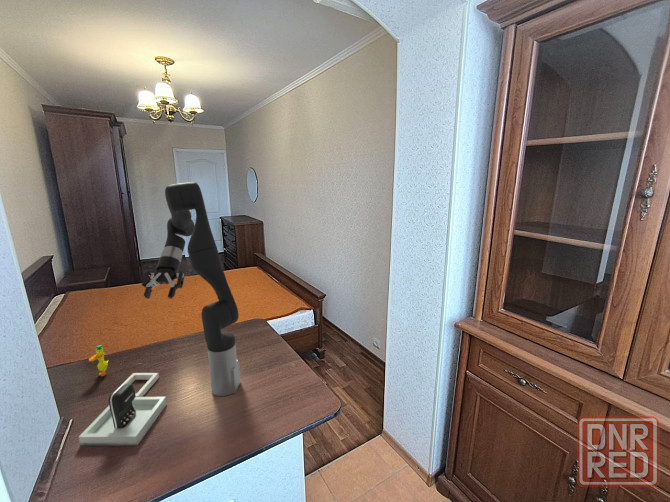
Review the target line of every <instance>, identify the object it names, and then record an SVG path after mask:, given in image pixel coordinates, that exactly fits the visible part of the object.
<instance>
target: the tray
mask: <svg viewBox="0 0 670 502" xmlns="http://www.w3.org/2000/svg"><path fill="white" fill-rule="evenodd" d="M167 405H168V403H167V397H166V396H143V397H135V399H134V400H133V401H132V406H133V408H134V409H135V411H136V415H135V416H134V417H133V419H132V420H131V421H130V422H129V423H128V424H127V425H126V426H125V427H124V428H118V429H116V428H114V424H113V419H112V415H111V411H110V406H109V405H108V406H107V407H106V408H105V409H104V410H103V411H102V412H101V413H100V414H99V415H98V416H97V417H96V418H95V419H94V420H93V422H92V423H90V425H89V426H87V428H86V429H85V430H84V431H82V433H81V434H80V435H79V436H78V441H79V445H80V446H81V447H85V446H90V447H91V446H93V447H95V446H99V447H100V446H101V447H102V446H104V447H105V446H139V444H140V442H141V441H142V439H143V438H144V437H145V436H146V434H147V433H148V431H149V430H150V429H151V427H152V425H153V424H154V423H155V422H156V420H157V418H158V417H159V416H160V414H161V413H162V412H163V410H164V408H165V407H166V406H167Z"/></svg>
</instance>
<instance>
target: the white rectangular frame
mask: <svg viewBox="0 0 670 502" xmlns="http://www.w3.org/2000/svg"><path fill="white" fill-rule="evenodd" d="M159 375H160V374H159V372H132V374H130V376H129V377H128V378H126V380H125V381H124V382H122V384H131V385H133V382H135V381H138V380H139V381H140V380H142V381H143V380H147V381H146V383H144V385H143V386H142V387H141V388H140V389H139V391H137V392H135V395H136V397H145V396H144V395H146V393H147V392H148V391H149V390H150V388H151V387H152V386H153V385H154V384H155V383H156V382H157V381H158V379H159V378H160V376H159Z"/></svg>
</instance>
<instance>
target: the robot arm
mask: <svg viewBox="0 0 670 502" xmlns="http://www.w3.org/2000/svg"><path fill="white" fill-rule="evenodd" d="M164 197H165V199H166V200H165V201H166V204H167V208H168V210H169V213H170V216H171V217H170V218H169V219H168V220H167V223H166V230H167V231H166V232H167V236H166V241H165V244H164V247H163V249H162V252H160V253H161V254H160V255H159V258H158V262H157V265H156V269H155V271H154V272H150V271H146V273H145V275H144V278H143V279H142V282H141V286H142V287H144V288H145V290H144V292H143V297H144V298H145V299H150V298H151V295H152V291H153V289H154V288H155V287H157V286H159V285H163V284H164V285H170V287H169V291H168V295H167V298H168V299H170V300H171V299H173V298H174V297H175V295H176V291H177V289H182V288H183V285H184V281H185V274H184V272H183V271H179V269H180V266H181V262H182V258H183V253H184V249H185V246H186V240H185V238H183V237H190V238H189V241H188V245H187V254H188V256H189V260H190V263H191V265H192V266H191V267H192V269H193V270H194V271H195V273H196V274H197V275H198V276H200V278H201V279H203V280H204V281H206V282H207V283H208V285H210V286H211V287H212V289H213V290H214V292H215V295H216V297H217V300H218V301H215V302H213V303H209V304H206V305H205V306H203V308H202V309H201V322H202V327H203V333H204V339H205V342H206V346H207V354H208V355H207V357H208V365H209V366H208V367H209V368H208V369H209V376H210V377H209V378H210V385H211V386H210V387H211V393H212V395H214V396H216V397H225V396H227V397H228V396H229V395H232V394H236V393H237V391H238V389H239V387H240V385H241V373H240V360H238V359H237V348H236V347H237V346H236V336H235V335H234V334H233V333H231V332H228V331H222V329H224V328H226V327H229V326H232V325H233V324H235V323H237V322H238V320H239V316H240V315H239V309H238V306H237V302H236V301H235V298H234V296H233V293H232V290H231V288H230V285H229V283H228V281H227V278H226V274H225V272H224V268H223V264H222V261H221V257H220V253H219V251H218V246H217V243H216V241H215V238H214V237H215V236H214V234H213V232H212V229H211V225H210V221H209V217H208V213H207V209H206V205H205V201H204V196H203V191H202V190H201V188H200V185H199V184H198V182H196V181H188V182H180V183H173V184H172V183H171V184H169V185H167V186H165V190H164ZM191 210H195V215H196V216H195V222H194V221H193V219H192V213H191ZM181 236H183V237H181ZM176 278H177V280H176V281H177V282H175V281H174V280H175V279H176Z"/></svg>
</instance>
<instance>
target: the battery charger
mask: <svg viewBox="0 0 670 502" xmlns="http://www.w3.org/2000/svg"><path fill="white" fill-rule="evenodd" d="M135 393H136V391H135V387H134V386H133V384H123V383H122V384H120V385H119V386H118V387H117V388H115V389H114V390H113V392H112V393H111V394H110V395H109V397H108V406H110V411H111V415H112V419H113V424H114V428H116V429H118V428H124V427H125V426H126V425H127V424H128V423H129V422H130V421H131V420H132V419H133V417H134V416H135V415H136V411H135V409H134V408H133V406H132V401H133V400H134V399H135V397H136V395H135Z"/></svg>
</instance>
